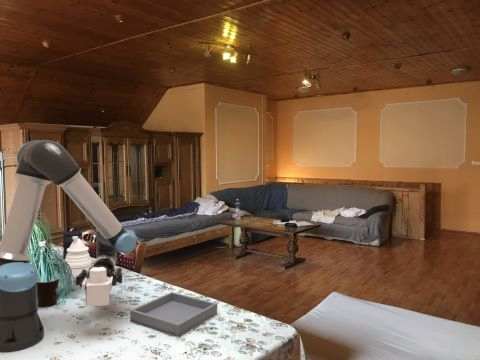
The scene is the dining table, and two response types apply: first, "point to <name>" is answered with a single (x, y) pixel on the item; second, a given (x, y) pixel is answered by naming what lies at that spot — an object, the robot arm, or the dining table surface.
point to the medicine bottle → (98, 286)
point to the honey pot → (78, 256)
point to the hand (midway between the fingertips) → (96, 287)
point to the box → (173, 313)
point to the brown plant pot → (47, 292)
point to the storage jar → (69, 240)
